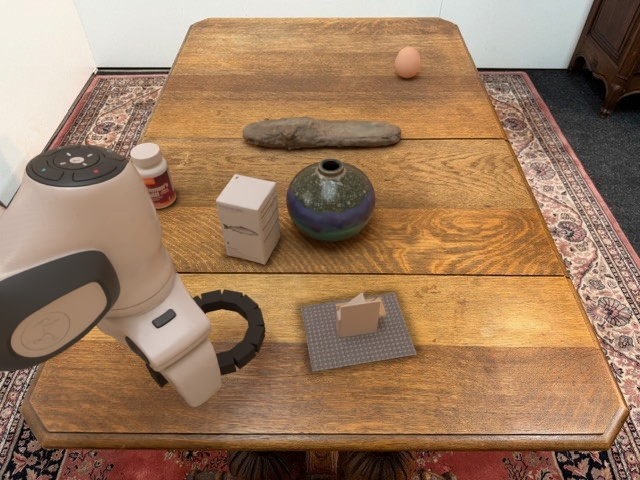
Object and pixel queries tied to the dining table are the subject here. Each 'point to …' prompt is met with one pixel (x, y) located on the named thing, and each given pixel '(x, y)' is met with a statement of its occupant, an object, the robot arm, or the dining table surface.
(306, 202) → the vase
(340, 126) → the elongated rock
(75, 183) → the robot arm
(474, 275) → the dining table surface
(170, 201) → the pill bottle
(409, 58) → the egg
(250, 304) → the rubber collar
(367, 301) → the napkin holder
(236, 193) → the white packaging box
